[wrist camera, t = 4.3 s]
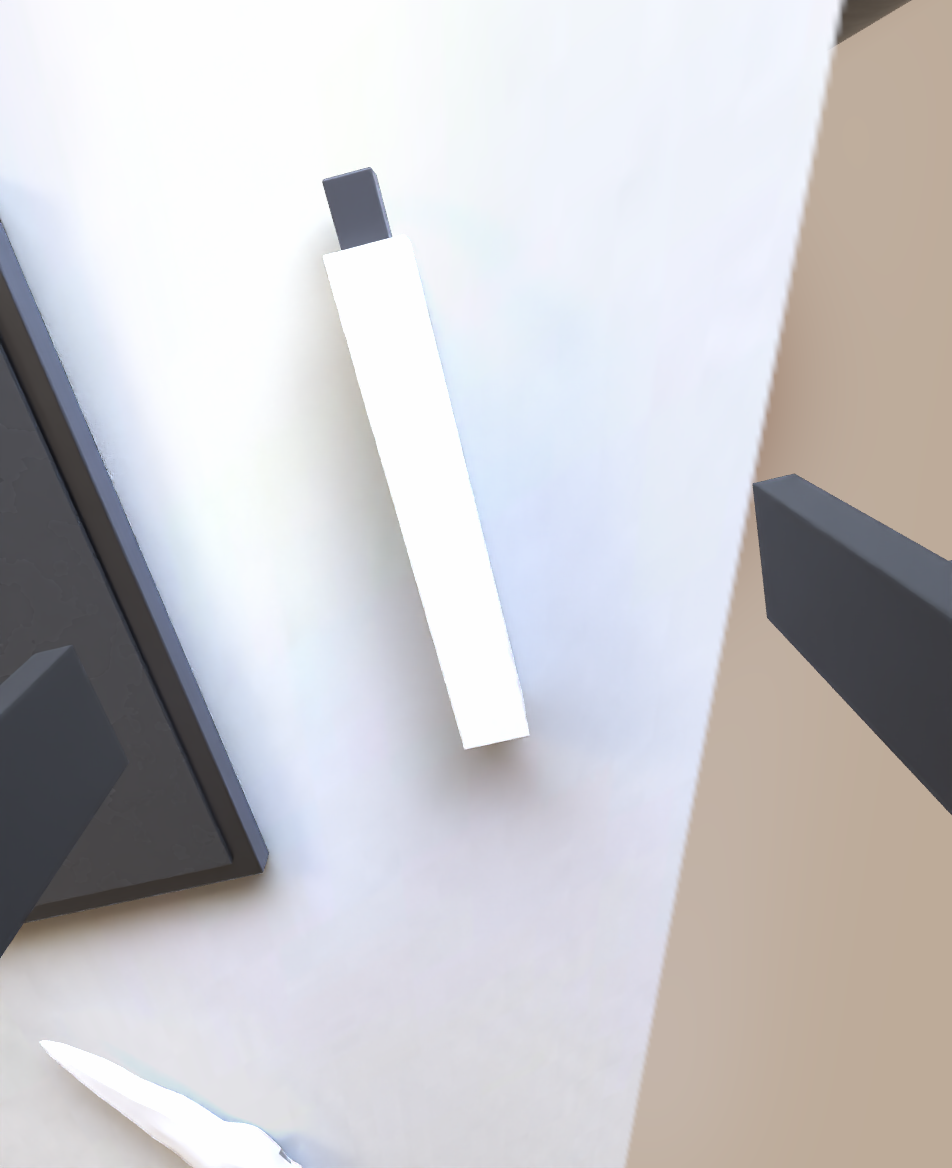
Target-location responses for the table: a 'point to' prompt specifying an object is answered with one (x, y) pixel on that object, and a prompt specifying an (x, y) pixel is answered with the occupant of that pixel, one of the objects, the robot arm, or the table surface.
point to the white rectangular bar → (422, 459)
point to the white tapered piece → (172, 1116)
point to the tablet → (105, 641)
